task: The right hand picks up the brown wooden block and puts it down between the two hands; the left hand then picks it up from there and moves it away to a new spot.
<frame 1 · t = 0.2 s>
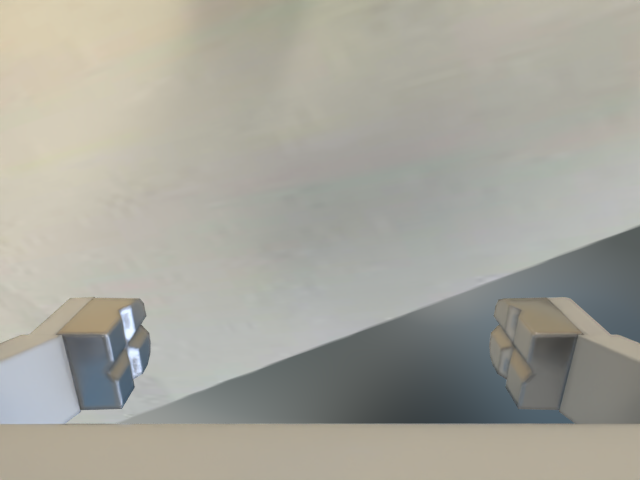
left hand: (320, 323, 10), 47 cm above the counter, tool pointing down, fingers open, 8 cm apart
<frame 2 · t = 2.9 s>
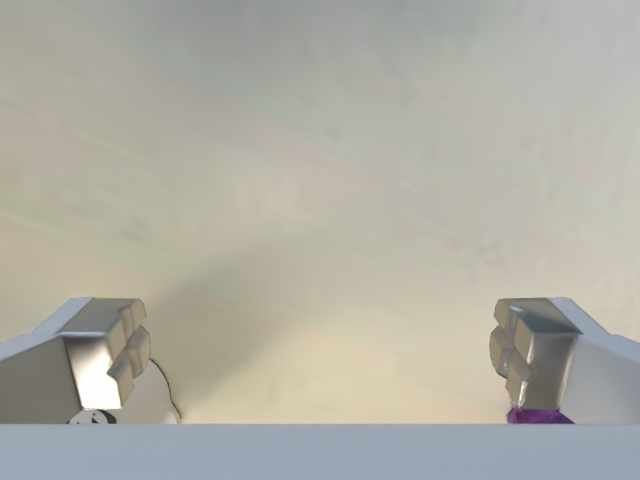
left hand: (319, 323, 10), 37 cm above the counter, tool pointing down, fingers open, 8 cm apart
figurine: (544, 410, 57), on the counter
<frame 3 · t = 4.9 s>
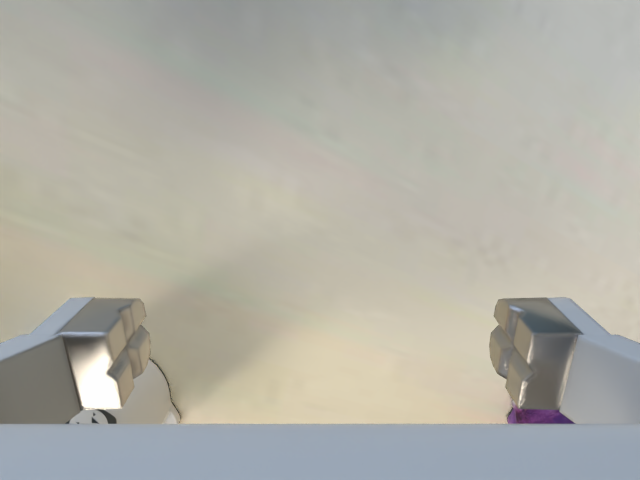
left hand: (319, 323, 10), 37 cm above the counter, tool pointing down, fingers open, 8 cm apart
figurine: (544, 410, 57), on the counter
when the right hand's fingers open (5 cm above the counter, at t = 7.4 s): brown wooden block drops 1 cm, on the counter.
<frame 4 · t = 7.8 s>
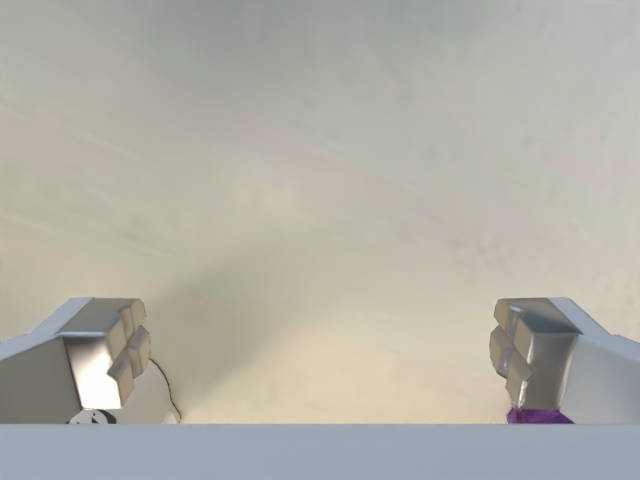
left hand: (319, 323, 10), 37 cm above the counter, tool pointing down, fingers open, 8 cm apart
figurine: (544, 410, 57), on the counter
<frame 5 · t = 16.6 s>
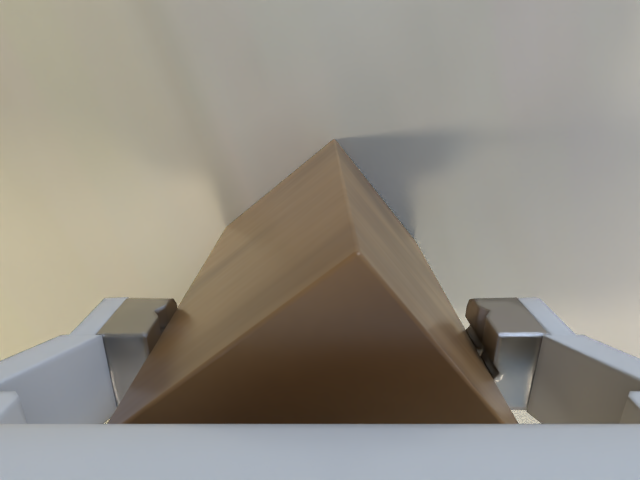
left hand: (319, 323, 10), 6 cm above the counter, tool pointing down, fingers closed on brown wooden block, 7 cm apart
brown wooden block: (321, 234, 15), on the counter, touching left hand
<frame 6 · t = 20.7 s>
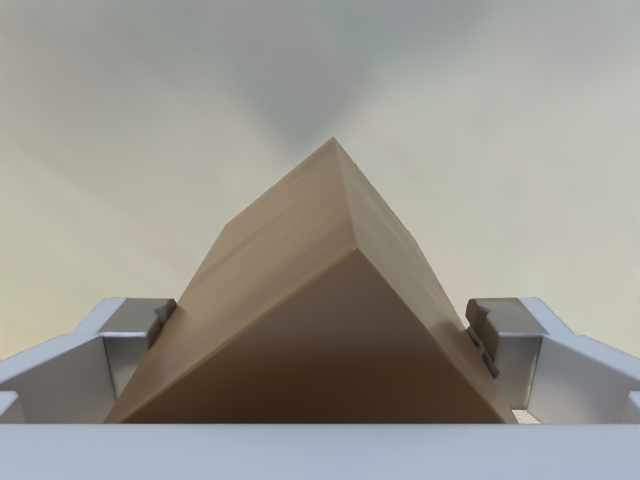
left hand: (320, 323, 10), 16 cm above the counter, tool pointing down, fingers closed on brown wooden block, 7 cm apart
brown wooden block: (320, 232, 15), point 10 cm above the counter, touching left hand
when the left hand's fingers open (7 cm above the counter, at t = 24.9 s): brown wooden block drops 1 cm, on the counter.
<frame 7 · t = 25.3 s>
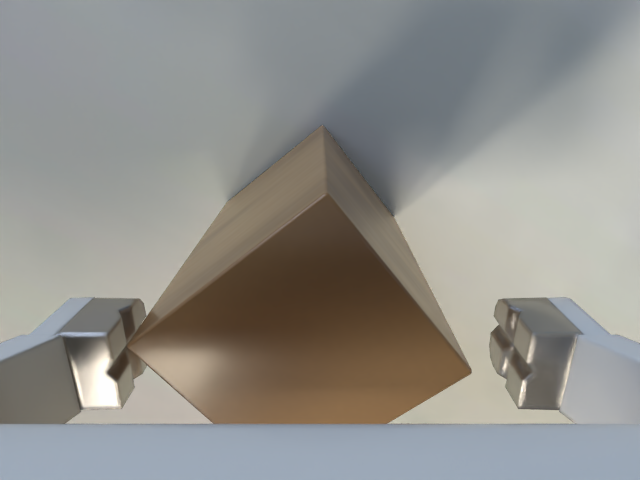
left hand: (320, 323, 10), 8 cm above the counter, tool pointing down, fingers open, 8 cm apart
brown wooden block: (310, 210, 17), on the counter
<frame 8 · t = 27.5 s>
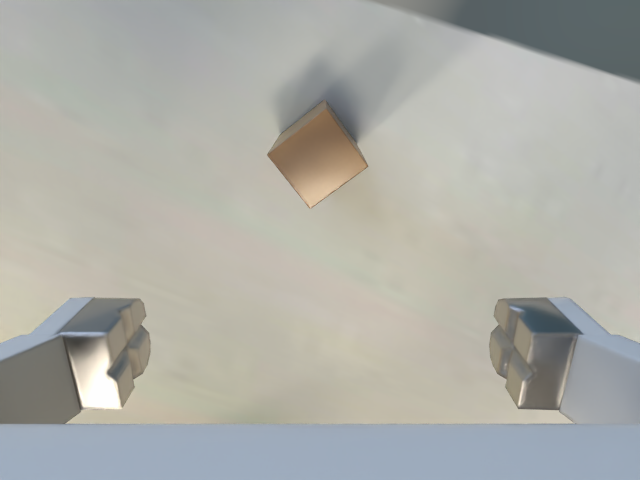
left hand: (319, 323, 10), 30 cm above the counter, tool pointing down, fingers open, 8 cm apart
brown wooden block: (318, 139, 38), on the counter
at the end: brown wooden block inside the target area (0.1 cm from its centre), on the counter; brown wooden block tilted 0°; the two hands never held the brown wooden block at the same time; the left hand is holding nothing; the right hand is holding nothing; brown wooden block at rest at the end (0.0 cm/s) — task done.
